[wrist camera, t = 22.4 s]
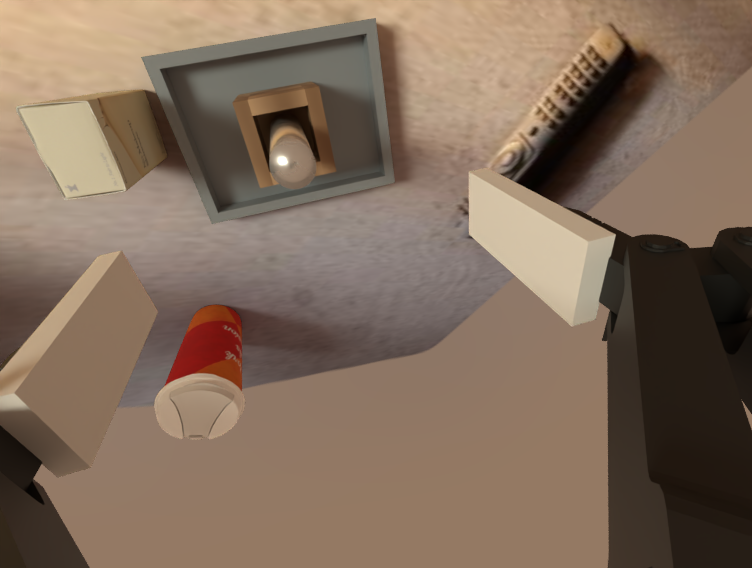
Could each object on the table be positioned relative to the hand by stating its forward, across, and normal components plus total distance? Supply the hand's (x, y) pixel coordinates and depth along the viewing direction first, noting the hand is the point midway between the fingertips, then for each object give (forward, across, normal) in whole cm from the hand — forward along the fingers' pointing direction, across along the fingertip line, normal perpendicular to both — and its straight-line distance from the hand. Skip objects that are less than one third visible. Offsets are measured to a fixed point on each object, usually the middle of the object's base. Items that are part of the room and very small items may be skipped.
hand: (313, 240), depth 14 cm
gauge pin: (+26, 0, 0) cm, 26 cm away
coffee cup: (+29, -15, -22) cm, 39 cm away
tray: (+29, 0, 0) cm, 29 cm away
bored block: (+28, 0, 0) cm, 28 cm away
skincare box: (+29, -14, +2) cm, 32 cm away
